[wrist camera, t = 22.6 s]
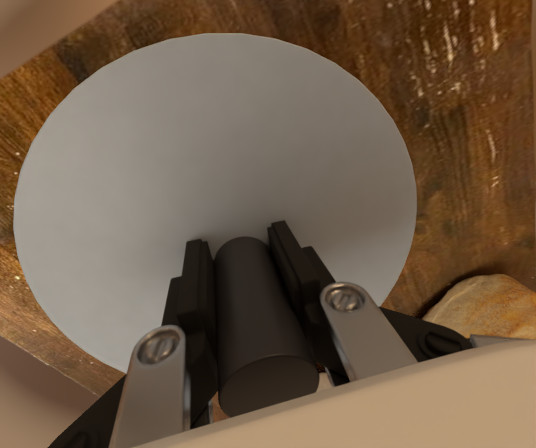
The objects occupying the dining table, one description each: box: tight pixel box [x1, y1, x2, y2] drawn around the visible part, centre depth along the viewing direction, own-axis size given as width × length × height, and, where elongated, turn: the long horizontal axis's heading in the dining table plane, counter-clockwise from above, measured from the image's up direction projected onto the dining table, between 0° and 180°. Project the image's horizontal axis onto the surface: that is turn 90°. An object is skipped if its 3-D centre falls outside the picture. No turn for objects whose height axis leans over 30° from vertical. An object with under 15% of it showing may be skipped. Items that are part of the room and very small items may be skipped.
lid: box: [13, 33, 417, 418], centre depth 9 cm, size 16×16×7 cm
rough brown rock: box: [422, 274, 536, 340], centre depth 43 cm, size 23×17×15 cm
